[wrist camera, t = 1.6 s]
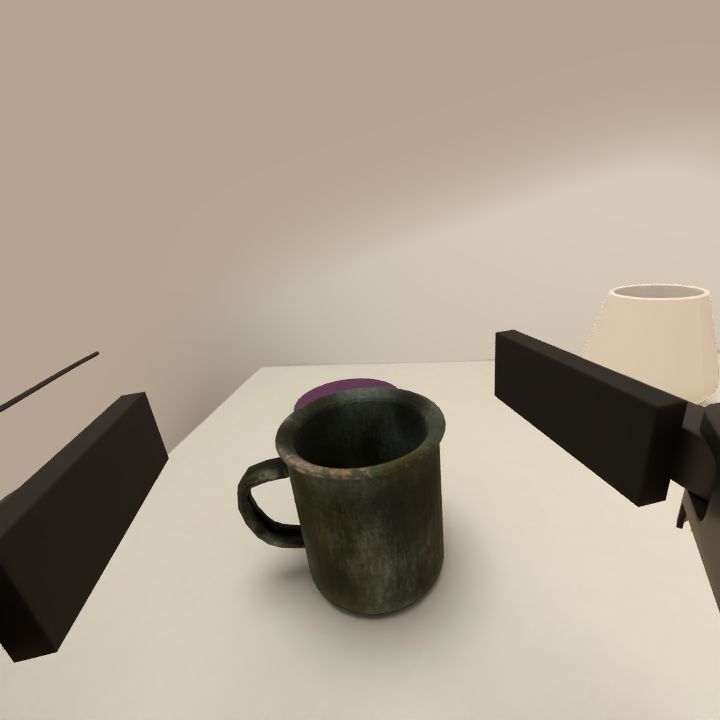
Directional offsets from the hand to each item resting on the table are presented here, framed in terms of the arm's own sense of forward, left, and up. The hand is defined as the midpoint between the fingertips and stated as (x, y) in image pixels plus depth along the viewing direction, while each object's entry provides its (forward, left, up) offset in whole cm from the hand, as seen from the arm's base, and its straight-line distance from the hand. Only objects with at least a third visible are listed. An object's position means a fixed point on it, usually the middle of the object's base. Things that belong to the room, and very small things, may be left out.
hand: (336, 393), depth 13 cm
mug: (-8, +2, -18) cm, 20 cm away
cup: (-12, +42, -18) cm, 47 cm away
